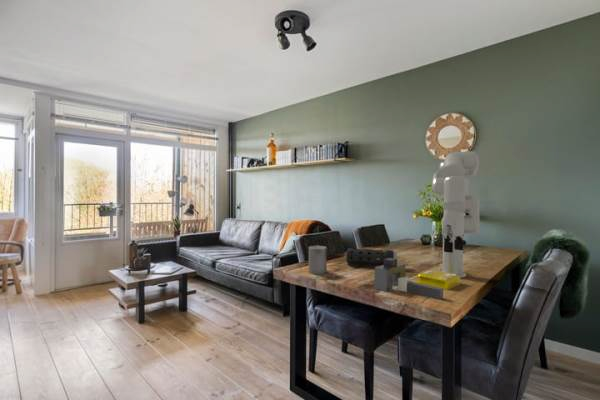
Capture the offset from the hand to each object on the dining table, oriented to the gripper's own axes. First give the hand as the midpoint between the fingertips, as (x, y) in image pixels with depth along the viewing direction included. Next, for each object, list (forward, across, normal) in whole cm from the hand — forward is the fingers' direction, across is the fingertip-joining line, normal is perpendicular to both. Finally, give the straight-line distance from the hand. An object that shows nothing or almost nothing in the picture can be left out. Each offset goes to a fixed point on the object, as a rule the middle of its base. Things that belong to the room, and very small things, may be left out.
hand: (453, 251), depth 121 cm
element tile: (+20, -21, -15) cm, 33 cm away
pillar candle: (+20, +8, -67) cm, 71 cm away
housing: (+20, +1, -27) cm, 34 cm away
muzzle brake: (+19, -25, -56) cm, 64 cm away
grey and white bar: (+20, +1, -13) cm, 24 cm away
